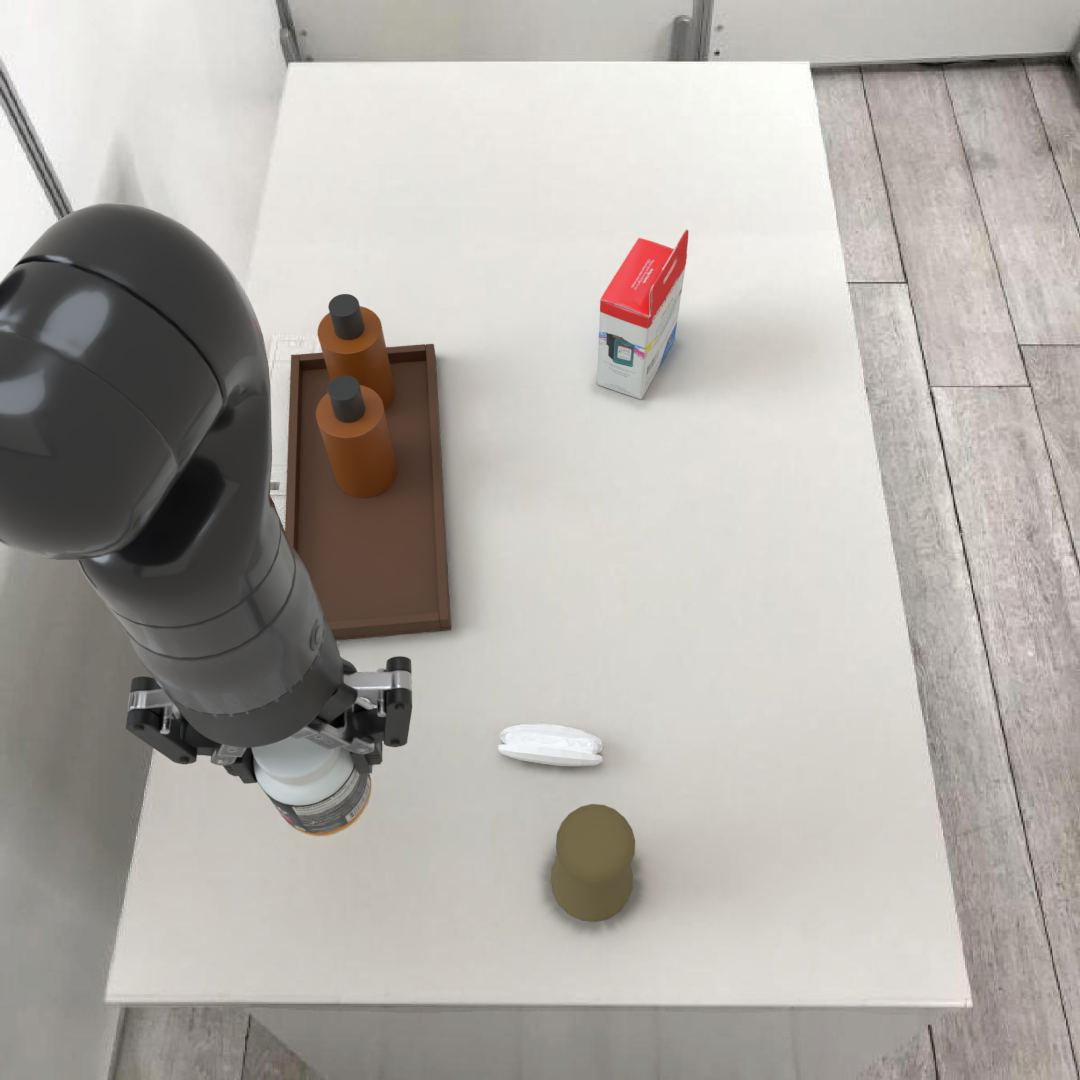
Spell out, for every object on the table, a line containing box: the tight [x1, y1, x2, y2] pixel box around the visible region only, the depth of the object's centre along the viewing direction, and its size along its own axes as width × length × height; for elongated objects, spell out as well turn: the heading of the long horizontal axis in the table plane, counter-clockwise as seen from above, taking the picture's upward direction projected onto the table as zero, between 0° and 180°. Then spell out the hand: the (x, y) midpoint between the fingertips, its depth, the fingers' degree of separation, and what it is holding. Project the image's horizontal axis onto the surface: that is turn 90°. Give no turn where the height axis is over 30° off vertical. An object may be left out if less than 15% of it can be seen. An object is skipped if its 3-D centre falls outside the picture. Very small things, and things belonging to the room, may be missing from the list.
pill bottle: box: [251, 736, 372, 838], centre depth 60 cm, size 6×6×10 cm
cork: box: [549, 803, 636, 923], centre depth 73 cm, size 6×6×11 cm
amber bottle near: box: [316, 375, 397, 498], centre depth 91 cm, size 6×6×12 cm
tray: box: [284, 343, 452, 641], centre depth 95 cm, size 14×30×2 cm, turn 5°
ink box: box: [596, 228, 689, 400], centre depth 97 cm, size 8×5×15 cm, turn 154°
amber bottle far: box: [317, 293, 395, 410], centre depth 96 cm, size 6×6×12 cm
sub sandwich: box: [497, 723, 604, 768], centre depth 82 cm, size 3×8×3 cm, turn 83°
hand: (309, 761), depth 60 cm, fingers closed on pill bottle, 5 cm apart
